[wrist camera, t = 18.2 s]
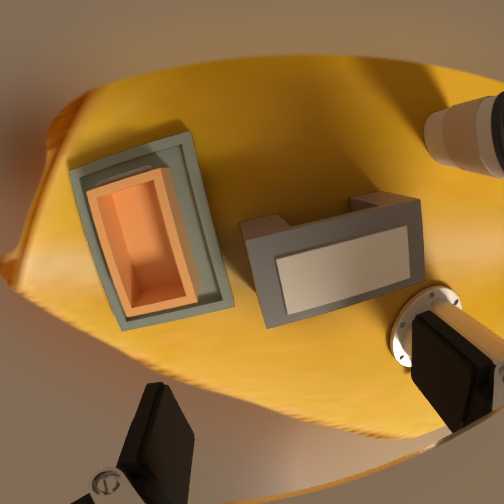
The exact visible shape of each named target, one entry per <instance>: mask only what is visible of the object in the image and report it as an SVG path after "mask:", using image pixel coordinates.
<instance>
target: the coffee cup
mask: <svg viewBox="0 0 504 504" xmlns="http://www.w3.org/2000/svg"><path fill="white" fill-rule="evenodd" d="M424 141H425V145H426V148H427V150H428V152H429V154H430V155H431V157H432V158H433V159H434V160H435V161H436V162H438V163H439V164H442V165H446V166H452V167H457V168H460V169H462V170H465V171H469V172H474V173H478V174H483V175H487V176H491V177H495V178H499V179H504V91H503V92H501V93H500V94H499V95H497V96H487V97H483V98H479V99H475V100H472V101H468V102H464V103H461V104H457V105H454V106H452V107H450V108H448V109H444V110H441V111H437V112H434V113H432V114H431V115H430V116H429V117H428V118H427V120H426V122H425V126H424Z"/></svg>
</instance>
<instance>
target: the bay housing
mask: <svg viewBox="0 0 504 504" xmlns="http://www.w3.org/2000/svg"><path fill="white" fill-rule="evenodd" d="M349 200H350V206H351V212H350V213H346V214H342V215H338V216H333V217H329V218H325V219H321V220H316V221H312V222H308V223H304V224H299V225H295V226H290V225H289V224H288V223H286V222H285V221H284V220H283V219H282V218H281V217H279V216H278V215H277V214H273V215H269V216H265V217H261V218H257V219H253V220H248V221H244V222H240V223H239V224H240V228H241V233H242V237H243V241H244V245H245V249H246V253H247V257H248V262H249V266H250V270H251V274H252V278H253V282H254V286H255V290H256V294H257V298H258V301H259V305H260V308H261V311H262V315H263V318H264V322H265V325H266V329H269V328H273V327H277V326H280V325H284V324H288V323H292V322H295V321H299V320H303V319H306V318H310V317H313V316H317V315H320V314H324V313H327V312H331V311H334V310H337V309H341V308H344V307H347V306H350V305H354V304H357V303H360V302H363V301H366V300H369V299H373V298H376V297H379V296H382V295H385V294H388V293H391V292H394V291H397V290H399V289H402V288H405V287H408V286H411V285H414V284H417V283H419V282H422V281H425V266H424V241H423V226H422V213H421V203H420V199H417V198H412V197H407V196H403V195H398V194H393V193H388V192H383V191H377V192H372V193H367V194H362V195H358V196H353V197H349Z"/></svg>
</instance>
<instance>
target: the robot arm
mask: <svg viewBox="0 0 504 504" xmlns="http://www.w3.org/2000/svg"><path fill="white" fill-rule="evenodd" d="M390 349H391V352H392V355H393V356H394V357H395V359H396V360H397V361H398V362H399V363H400V364H402V365H403V366H406V367H411V377H412V380H413V382H414V383H415V384H416V386H417V387H418V389H419V390H420V391H421V392H422V393H423V395H424V396H425V397H426V399H427V400H428V401H429V403H430V404H431V405H432V406H433V408H434V409H435V410H436V412H437V413H438V414H439V416H440V417H441V418H442V420H443V421H444V422H445V424H446V425H447V426H448V428H449V429H450V430H451V432H452V434H451V435H449V436H447V437H445V438H443V439H441V440H439V441H437V442H435V443H433V444H431V445H429V446H427V447H424V448H422V449H420V450H418V451H416V452H413V453H411V454H409V455H406V456H404V457H402V458H399V459H397V460H394V461H392V462H389V463H387V464H384V465H382V466H379V467H377V468H374V469H371V470H368V471H365V472H362V473H360V474H356V475H353V476H350V477H347V478H344V479H340V480H337V481H334V482H330V483H327V484H323V485H319V486H315V487H311V488H307V489H303V490H299V491H294V492H289V493H285V494H280V495H274V496H269V497H264V498H257V499H250V500H243V501H235V502H226V503H215V504H504V340H503V339H502V338H501V337H499V336H498V335H497V334H495V333H494V332H492V331H491V330H490V329H488V328H487V327H485V326H484V325H483V324H481V323H480V322H478V321H477V320H476V319H474V318H473V317H471V316H470V315H468V314H467V313H465V312H464V311H463V310H462V306H461V301H460V299H459V297H458V295H457V294H456V293H455V292H454V291H453V290H451V289H450V288H448V287H446V286H441V285H437V286H431V287H428V288H426V289H424V290H422V291H420V292H419V293H417V294H416V295H415V296H413V297H412V298H411V299H410V300H409V301H408V302H407V303H406V304H405V306H404V307H403V308H402V310H401V311H400V313H399V314H398V316H397V318H396V320H395V322H394V324H393V327H392V330H391V334H390ZM194 441H195V439H194V433H193V431H192V429H191V427H190V425H189V424H188V422H187V420H186V418H185V416H184V414H183V413H182V411H181V409H180V407H179V405H178V403H177V401H176V399H175V397H174V395H173V393H172V391H171V389H170V387H169V386H168V385H164V383H163V382H156V383H149V384H147V385H146V388H145V390H144V393H143V395H142V398H141V401H140V403H139V406H138V409H137V411H136V414H135V417H134V419H133V421H132V423H131V426H130V429H129V431H128V434H127V437H126V439H125V442H124V445H123V448H122V451H121V454H120V457H119V460H118V463H117V466H116V468H113V467H107V468H103V469H101V470H98V471H97V472H96V473H94V474H93V476H91V478H90V480H89V482H88V490H89V493H88V494H87V495H85V496H83V497H81V498H80V499H78V500H76V501H75V502H73V503H71V504H187V502H188V492H189V484H190V475H191V466H192V457H193V449H194Z"/></svg>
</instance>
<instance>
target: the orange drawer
mask: <svg viewBox="0 0 504 504" xmlns="http://www.w3.org/2000/svg"><path fill="white" fill-rule="evenodd" d="M150 170H151V171H150ZM147 171H148V172H147ZM144 172H145V173H144ZM134 175H135V176H134ZM131 176H132V177H131ZM97 186H98V188H95V189H92V190H90V191H87V192H86V193H87V197H88V201H89V205H90V209H91V212H92V216H93V220H94V223H95V226H96V230H97V233H98V237H99V240H100V243H101V246H102V249H103V252H104V256H105V259H106V262H107V265H108V268H109V270H110V273H111V276H112V279H113V282H114V285H115V287H116V290H117V293H118V295H119V298H120V301H121V303H122V306H123V309H124V311H125V314H126V316H127V317H132V316H136V315H141V314H146V313H151V312H155V311H160V310H165V309H169V308H174V307H178V306H183V305H187V304H192V303H196V302H198V296H199V290H200V283H201V282H200V278H199V275H198V272H197V268H196V265H195V261H194V258H193V254H192V250H191V247H190V243H189V240H188V236H187V232H186V229H185V225H184V221H183V217H182V213H181V210H180V206H179V202H178V198H177V194H176V190H175V186H174V182H173V178H172V174H171V170H170V168H158V169H155V170H152V166H151V165H147V166H144V167H141V168H138V169H134V170H131V171H128V172H125V173H122V174H119V175H116V176H113V177H110V178H107V179H104V180H101V181H98V182H97Z"/></svg>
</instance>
